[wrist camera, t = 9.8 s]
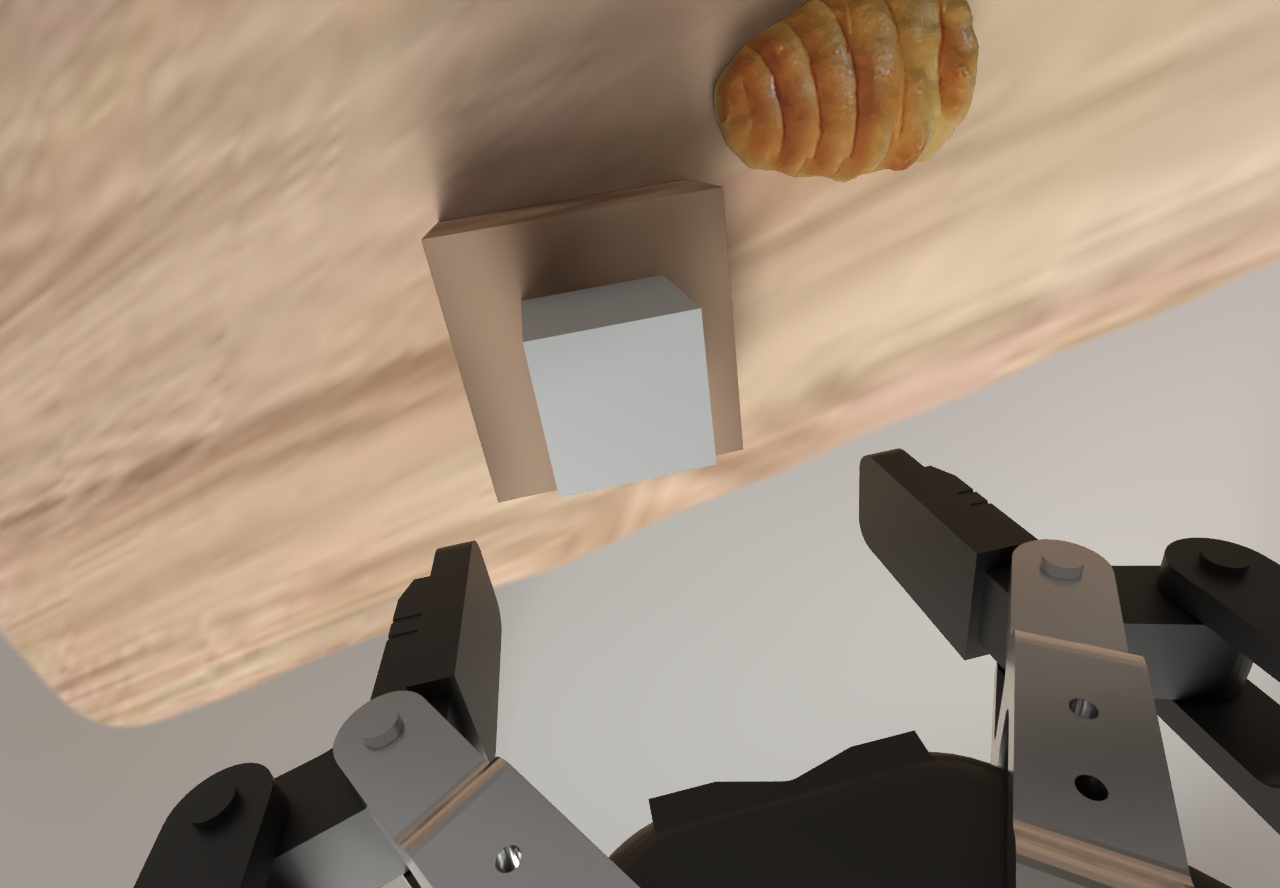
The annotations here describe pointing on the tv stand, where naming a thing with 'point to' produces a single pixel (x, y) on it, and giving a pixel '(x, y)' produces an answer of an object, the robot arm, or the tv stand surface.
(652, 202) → the tan square block
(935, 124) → the pastry
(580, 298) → the grey cube
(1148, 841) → the robot arm
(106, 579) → the tv stand surface
